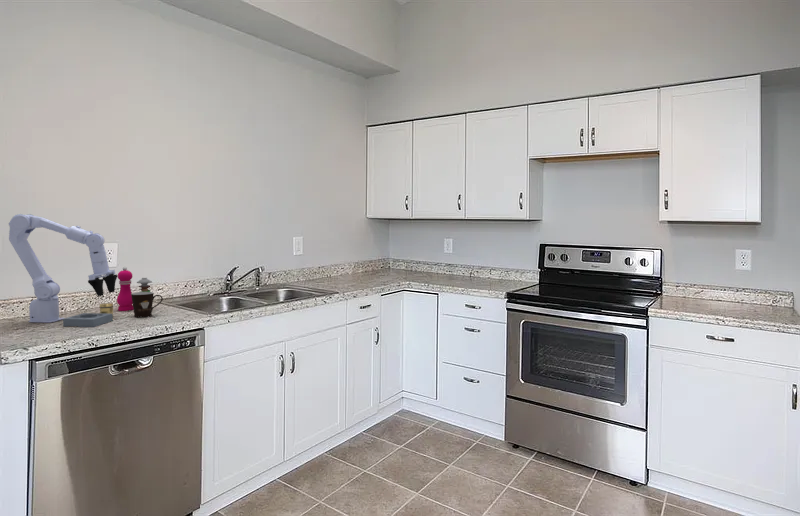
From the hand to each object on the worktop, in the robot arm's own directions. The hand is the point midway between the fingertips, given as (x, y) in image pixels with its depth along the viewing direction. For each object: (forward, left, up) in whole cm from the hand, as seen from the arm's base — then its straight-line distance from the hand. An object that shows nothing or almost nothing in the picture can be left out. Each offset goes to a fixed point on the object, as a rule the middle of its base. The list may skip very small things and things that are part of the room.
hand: (106, 293), depth 204 cm
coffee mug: (+13, +7, -11) cm, 18 cm away
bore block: (-1, -11, -10) cm, 15 cm away
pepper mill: (-4, +20, -11) cm, 23 cm away
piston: (-1, +1, -10) cm, 10 cm away
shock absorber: (+5, +20, -11) cm, 23 cm away
